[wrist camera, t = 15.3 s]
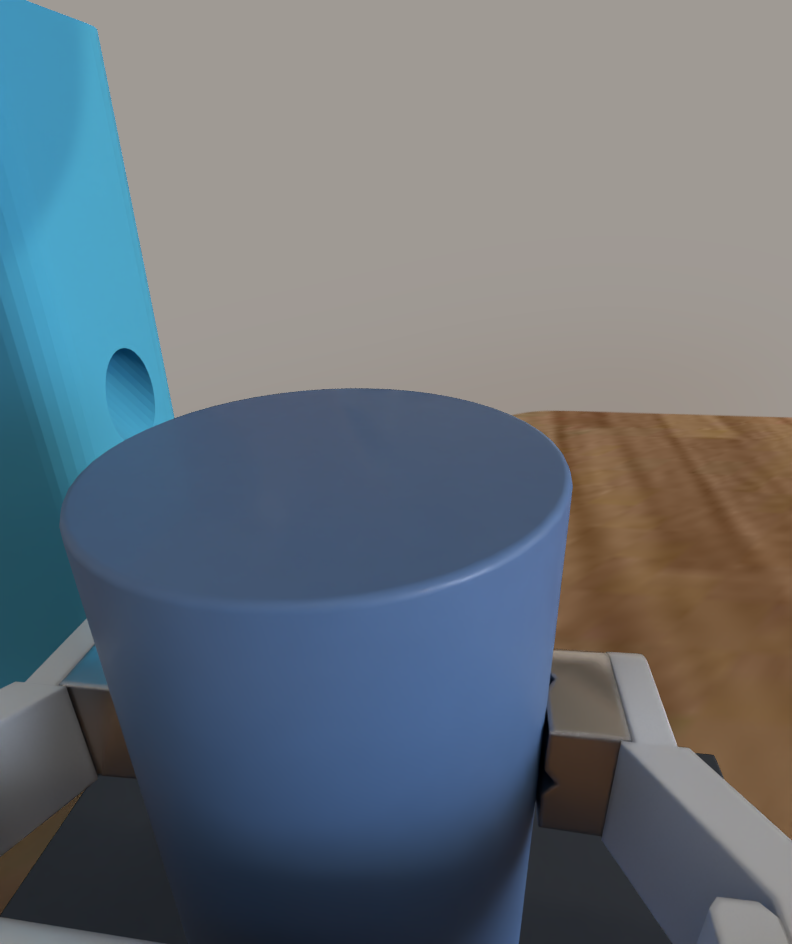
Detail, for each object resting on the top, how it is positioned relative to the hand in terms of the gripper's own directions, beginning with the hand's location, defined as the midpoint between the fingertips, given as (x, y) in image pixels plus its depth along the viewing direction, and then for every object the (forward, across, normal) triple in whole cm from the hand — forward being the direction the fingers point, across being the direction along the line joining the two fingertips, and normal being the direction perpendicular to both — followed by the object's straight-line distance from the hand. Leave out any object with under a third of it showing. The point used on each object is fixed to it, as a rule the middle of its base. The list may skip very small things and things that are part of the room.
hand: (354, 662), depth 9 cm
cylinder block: (-1, 0, +6) cm, 6 cm away
